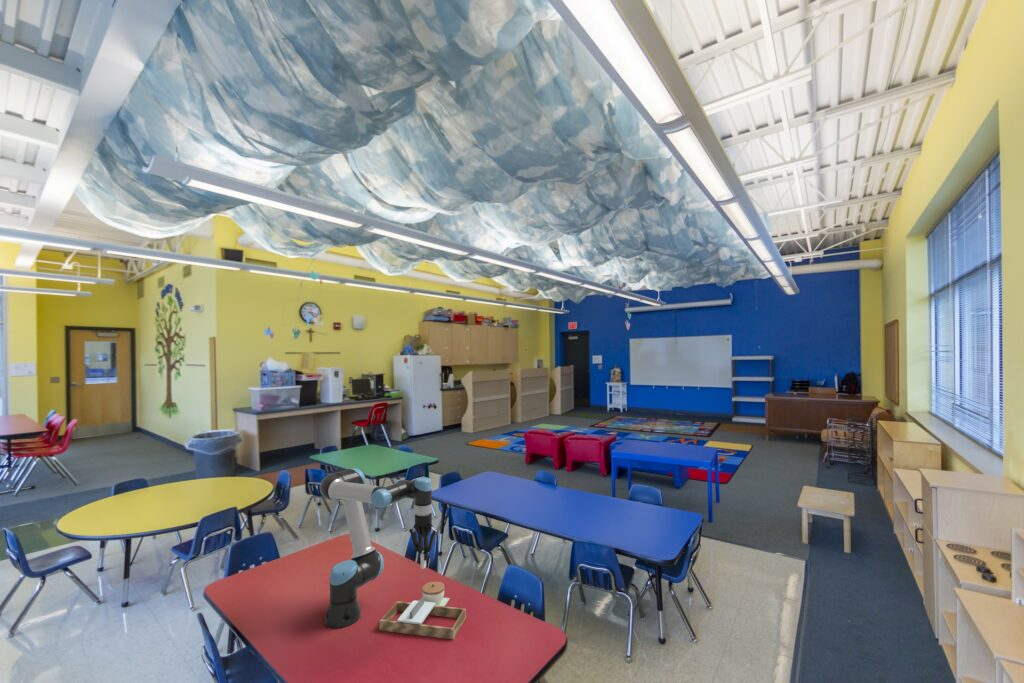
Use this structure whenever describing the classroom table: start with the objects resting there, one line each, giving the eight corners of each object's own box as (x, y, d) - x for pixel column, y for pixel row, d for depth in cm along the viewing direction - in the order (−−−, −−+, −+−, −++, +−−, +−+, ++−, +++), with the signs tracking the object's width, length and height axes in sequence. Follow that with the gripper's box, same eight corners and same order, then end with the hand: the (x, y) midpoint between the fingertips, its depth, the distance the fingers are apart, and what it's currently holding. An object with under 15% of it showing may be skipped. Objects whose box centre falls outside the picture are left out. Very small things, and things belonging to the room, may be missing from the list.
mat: (416, 610, 203) (416, 608, 203) (426, 596, 215) (426, 595, 215) (440, 612, 201) (440, 611, 201) (449, 599, 212) (449, 598, 212)
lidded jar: (440, 610, 201) (440, 589, 202) (418, 608, 203) (418, 588, 204) (447, 598, 212) (447, 578, 213) (427, 596, 214) (426, 577, 214)
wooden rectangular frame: (379, 630, 188) (379, 620, 188) (397, 609, 204) (397, 601, 204) (453, 639, 181) (453, 629, 181) (465, 617, 196) (465, 608, 197)
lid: (397, 621, 187) (397, 613, 187) (413, 602, 202) (413, 594, 202) (420, 624, 184) (420, 616, 184) (435, 604, 200) (435, 596, 200)
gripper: (406, 515, 193) (406, 569, 191) (433, 517, 190) (433, 572, 189) (413, 509, 200) (413, 562, 199) (439, 511, 197) (440, 564, 196)
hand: (423, 567), depth 194 cm, fingers closed
